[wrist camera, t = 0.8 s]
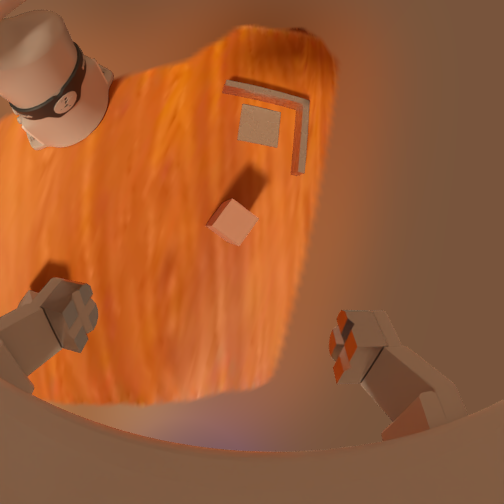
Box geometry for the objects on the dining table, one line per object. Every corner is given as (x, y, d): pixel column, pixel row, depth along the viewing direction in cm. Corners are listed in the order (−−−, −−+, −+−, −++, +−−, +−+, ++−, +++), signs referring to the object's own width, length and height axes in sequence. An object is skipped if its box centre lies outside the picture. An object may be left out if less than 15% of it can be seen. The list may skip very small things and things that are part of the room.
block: (205, 225, 43) (212, 225, 35) (222, 202, 43) (232, 198, 35) (227, 242, 44) (239, 246, 36) (244, 219, 44) (258, 218, 37)
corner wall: (296, 176, 46) (304, 173, 43) (210, 160, 42) (213, 156, 39) (302, 106, 45) (309, 100, 42) (223, 87, 41) (226, 79, 38)
